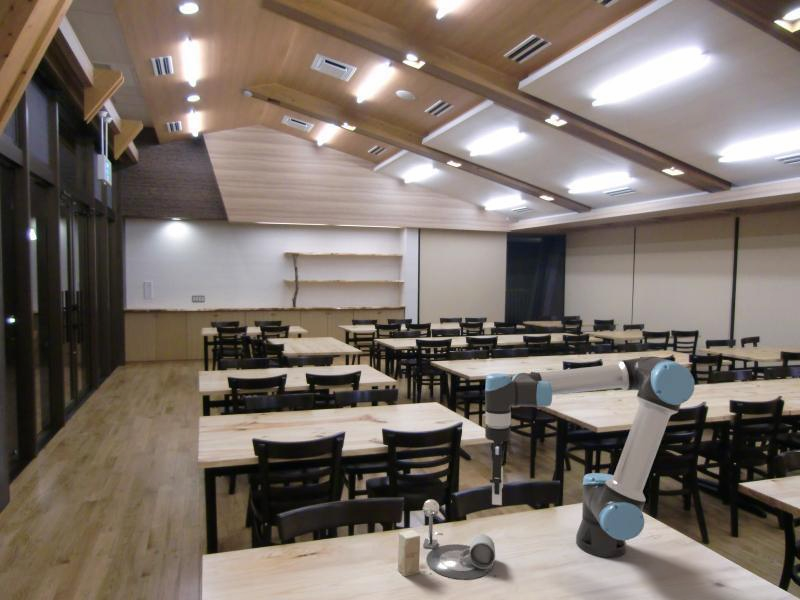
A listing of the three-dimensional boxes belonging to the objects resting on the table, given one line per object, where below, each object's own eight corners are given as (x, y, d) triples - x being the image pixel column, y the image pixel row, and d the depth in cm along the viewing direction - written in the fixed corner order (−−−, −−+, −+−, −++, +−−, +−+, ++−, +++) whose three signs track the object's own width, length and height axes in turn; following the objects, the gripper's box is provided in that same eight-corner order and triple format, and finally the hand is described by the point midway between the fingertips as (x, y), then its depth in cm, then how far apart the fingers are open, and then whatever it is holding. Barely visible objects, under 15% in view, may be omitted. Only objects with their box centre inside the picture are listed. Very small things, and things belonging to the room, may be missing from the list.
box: (404, 577, 150) (404, 538, 150) (397, 569, 154) (397, 532, 154) (420, 572, 153) (420, 535, 152) (412, 565, 157) (413, 528, 156)
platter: (493, 549, 167) (493, 548, 167) (491, 583, 148) (491, 582, 148) (431, 542, 171) (431, 541, 171) (421, 574, 152) (421, 573, 152)
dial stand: (443, 543, 170) (444, 499, 170) (442, 549, 167) (442, 504, 166) (423, 541, 172) (424, 497, 171) (421, 547, 168) (422, 502, 168)
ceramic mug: (494, 556, 162) (494, 531, 162) (495, 570, 154) (495, 544, 154) (459, 553, 164) (460, 529, 163) (458, 567, 155) (459, 541, 155)
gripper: (487, 415, 171) (487, 479, 172) (482, 435, 147) (482, 511, 147) (511, 416, 170) (510, 481, 170) (510, 437, 145) (509, 513, 146)
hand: (497, 495), depth 159 cm, fingers open, 13 cm apart
